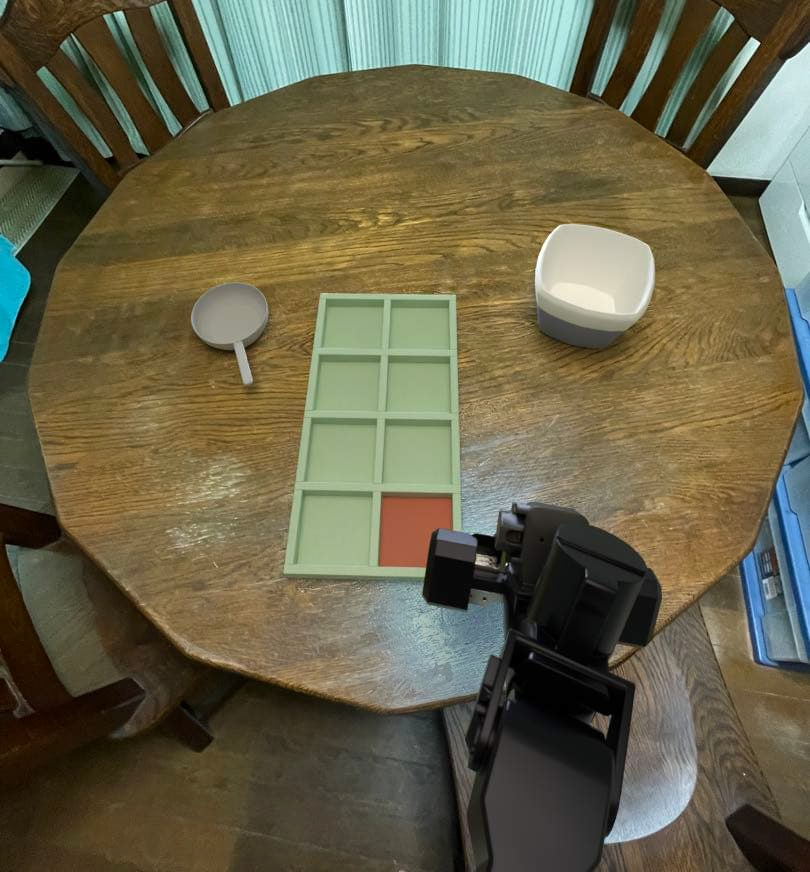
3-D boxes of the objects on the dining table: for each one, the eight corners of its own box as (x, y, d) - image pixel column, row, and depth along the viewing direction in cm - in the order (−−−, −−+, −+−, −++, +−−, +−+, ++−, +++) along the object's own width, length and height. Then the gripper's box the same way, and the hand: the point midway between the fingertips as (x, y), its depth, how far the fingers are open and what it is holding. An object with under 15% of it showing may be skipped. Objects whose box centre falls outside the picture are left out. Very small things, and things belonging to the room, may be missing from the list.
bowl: (537, 263, 92) (551, 212, 83) (638, 289, 89) (663, 239, 80) (513, 342, 84) (525, 295, 75) (622, 373, 81) (649, 328, 72)
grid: (461, 582, 67) (463, 578, 65) (286, 577, 68) (282, 573, 66) (455, 304, 88) (455, 294, 86) (322, 302, 89) (320, 293, 87)
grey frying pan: (262, 287, 91) (257, 272, 87) (293, 384, 81) (288, 370, 78) (192, 308, 89) (184, 293, 85) (216, 410, 79) (207, 397, 76)
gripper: (707, 574, 39) (647, 475, 54) (430, 522, 41) (447, 440, 57) (671, 714, 41) (623, 582, 57) (410, 658, 44) (431, 545, 59)
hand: (530, 535), depth 57 cm, fingers closed on cork, 5 cm apart
